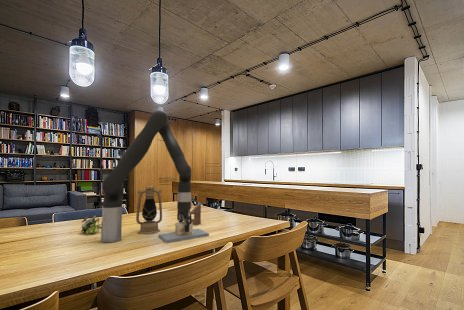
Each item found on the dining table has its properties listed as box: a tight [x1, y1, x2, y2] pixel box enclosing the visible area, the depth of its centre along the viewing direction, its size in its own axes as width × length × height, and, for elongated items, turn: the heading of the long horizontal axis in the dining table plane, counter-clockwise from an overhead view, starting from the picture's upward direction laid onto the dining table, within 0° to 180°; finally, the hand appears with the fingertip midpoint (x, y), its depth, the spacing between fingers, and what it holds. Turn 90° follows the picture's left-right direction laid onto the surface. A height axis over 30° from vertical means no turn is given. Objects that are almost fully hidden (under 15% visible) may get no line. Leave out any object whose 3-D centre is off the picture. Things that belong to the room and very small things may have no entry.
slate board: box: [157, 228, 210, 244], centre depth 133 cm, size 24×13×2 cm, turn 124°
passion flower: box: [80, 215, 101, 236], centre depth 141 cm, size 11×11×12 cm
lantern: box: [135, 184, 163, 235], centre depth 144 cm, size 14×12×30 cm
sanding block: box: [174, 221, 194, 236], centre depth 134 cm, size 8×5×6 cm, turn 124°
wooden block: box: [188, 202, 202, 226], centre depth 163 cm, size 4×11×18 cm, turn 119°
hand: (183, 230), depth 133 cm, fingers open, 8 cm apart
